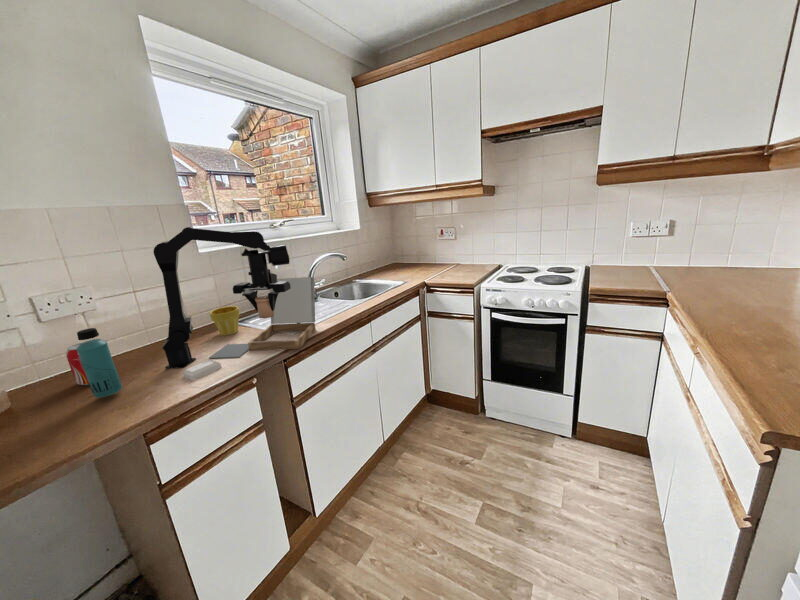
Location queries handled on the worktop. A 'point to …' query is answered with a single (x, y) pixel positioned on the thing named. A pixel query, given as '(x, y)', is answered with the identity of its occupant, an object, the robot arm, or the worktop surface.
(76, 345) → the soda can
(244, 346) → the grey mat
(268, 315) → the clay pot
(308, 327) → the wooden tray
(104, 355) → the beverage bottle
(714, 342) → the worktop surface
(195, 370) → the soap bar
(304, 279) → the lid
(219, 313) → the plant pot
